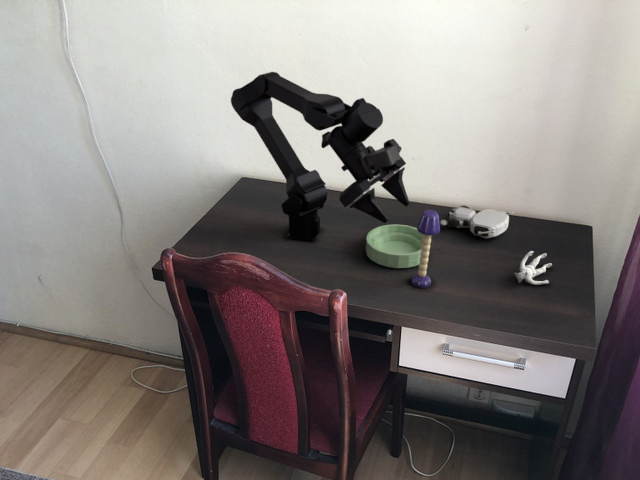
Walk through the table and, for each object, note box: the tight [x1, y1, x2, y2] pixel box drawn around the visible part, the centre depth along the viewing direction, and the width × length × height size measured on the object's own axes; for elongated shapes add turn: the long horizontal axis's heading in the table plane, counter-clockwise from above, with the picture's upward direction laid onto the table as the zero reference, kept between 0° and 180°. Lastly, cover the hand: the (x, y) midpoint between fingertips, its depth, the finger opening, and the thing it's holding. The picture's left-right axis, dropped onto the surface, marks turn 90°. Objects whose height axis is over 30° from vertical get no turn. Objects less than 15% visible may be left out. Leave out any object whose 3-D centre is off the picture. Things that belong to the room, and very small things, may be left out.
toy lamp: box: [410, 209, 441, 289], centre depth 143 cm, size 5×5×17 cm
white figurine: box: [513, 250, 553, 286], centre depth 149 cm, size 8×5×12 cm
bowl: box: [365, 223, 424, 269], centre depth 157 cm, size 14×14×4 cm
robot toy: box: [440, 205, 515, 239], centre depth 167 cm, size 12×4×15 cm
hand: (397, 213), depth 144 cm, fingers open, 9 cm apart
